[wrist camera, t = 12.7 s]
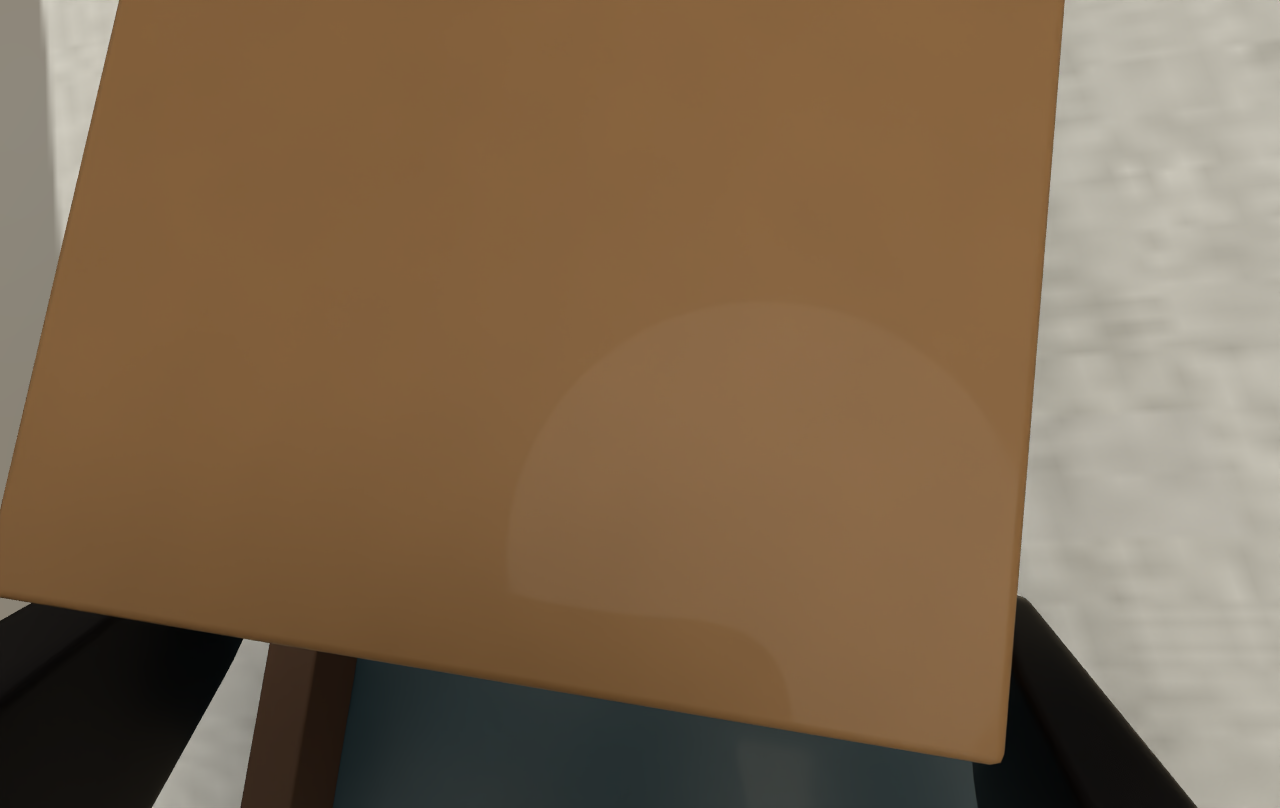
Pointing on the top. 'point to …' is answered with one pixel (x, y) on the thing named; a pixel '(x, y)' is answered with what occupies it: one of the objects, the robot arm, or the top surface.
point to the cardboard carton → (561, 347)
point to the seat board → (546, 749)
